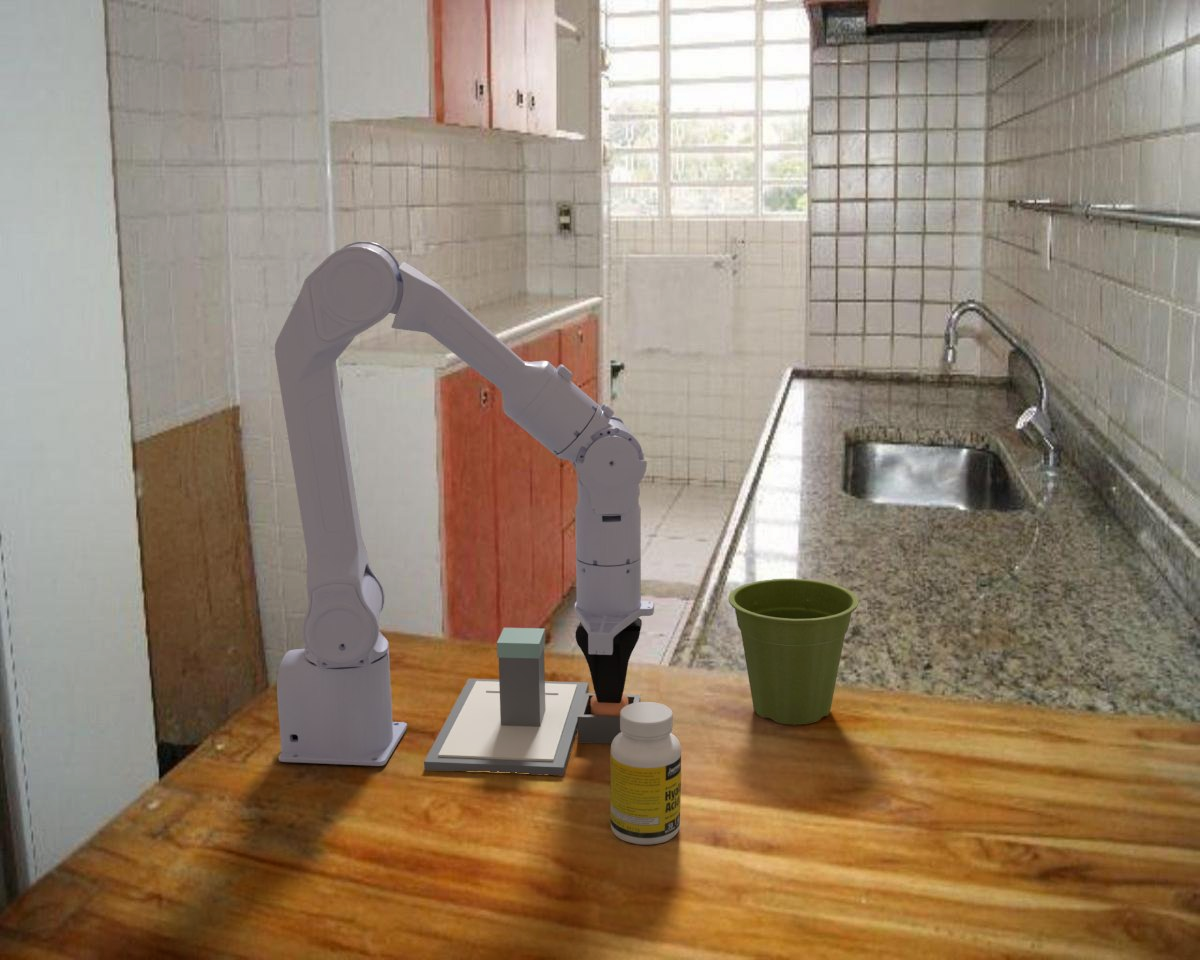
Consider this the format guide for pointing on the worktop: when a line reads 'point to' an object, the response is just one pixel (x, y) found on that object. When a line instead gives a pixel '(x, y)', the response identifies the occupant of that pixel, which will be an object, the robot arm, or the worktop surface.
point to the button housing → (598, 722)
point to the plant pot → (792, 644)
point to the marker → (521, 676)
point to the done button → (607, 707)
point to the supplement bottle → (645, 775)
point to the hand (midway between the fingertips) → (609, 700)
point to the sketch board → (507, 732)
